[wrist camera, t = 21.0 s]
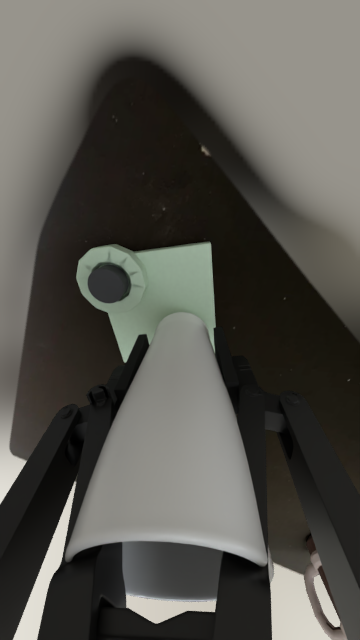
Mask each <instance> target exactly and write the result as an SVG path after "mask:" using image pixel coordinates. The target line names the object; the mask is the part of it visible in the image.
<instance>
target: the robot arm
mask: <svg viewBox="0 0 360 640" xmlns="http://www.w3.org/2000/svg"><path fill="white" fill-rule="evenodd" d="M213 330H214V346H215V355H216V358H217V361H218V364H219V367H220V370H221V373H222V376H223V379H224V382H225V385H226V388H227V390H228V393H229V396H230V399H231V401H232V404H233V407H234V410H235V413H236V414H238V421H237V424H238V427H239V430H240V434H241V438H242V441H243V445H244V449H245V453H246V457H247V461H248V465H249V470H250V474H251V479H252V483H253V488H254V493H255V498H256V503H257V508H258V513H259V518H260V523H261V528H262V534H263V539H264V544H265V549H266V553H267V558H268V529H267V485H266V441H265V429H269V430H273V431H276V432H277V435H278V438H279V441H280V444H281V447H282V450H283V452H284V455H285V458H286V461H287V464H288V467H289V470H290V473H291V476H292V479H293V482H294V485H295V488H296V491H297V494H298V496H299V499H300V502H301V505H302V508H303V511H304V514H305V517H306V520H307V523H308V526H309V529H310V532H311V535H312V537H313V540H314V543H315V546H316V549H317V552H318V555H319V558H320V561H321V564H322V567H323V570H324V573H325V576H326V578H327V581H328V584H329V587H330V590H331V593H332V596H333V599H334V602H335V605H336V608H337V611H338V614H339V617H340V619H341V622H342V625H343V628H344V631H345V634H346V637H347V640H360V495H359V493H358V492H357V490H356V488H355V486H354V485H353V483H352V481H351V479H350V478H349V476H348V474H347V472H346V470H345V469H344V467H343V465H342V463H341V462H340V460H339V458H338V456H337V454H336V453H335V451H334V449H333V447H332V446H331V444H330V442H329V440H328V439H327V437H326V435H325V433H324V431H323V430H322V428H321V426H320V424H319V423H318V421H317V419H316V417H315V415H314V414H313V412H312V410H311V408H310V407H309V405H308V403H307V401H306V400H305V399H304V397H303V396H301V395H300V394H299V393H296V392H293V391H284V392H282V393H281V394H280V396H279V395H273V394H269V393H267V392H264V391H263V390H262V389H261V388H260V387H259V386H258V384H257V382H256V379H255V377H254V375H253V372H252V370H251V367H250V366H249V363H248V360H247V359H246V358H245V357H244V356H232V357H231V354H230V351H229V348H228V345H227V341H226V338H225V335H224V332H223V328H222V327H215V328H213ZM148 347H149V342H148V337H147V334H140V335H138V337H137V339H136V342H135V344H134V346H133V348H132V351H131V353H130V355H129V357H128V359H127V362H126V364H125V365H122V366H118V367H117V368H116V369H115V370H114V371H113V373H112V375H111V377H110V379H109V381H108V383H107V385H103V384H101V385H97V386H95V387H93V388H92V389H90V390H89V391H88V393H87V395H86V396H87V398H88V400H89V402H90V405H88V406H85V407H82V408H78V406H77V405H75V404H71V405H67V406H65V407H63V408H62V409H61V410H60V411H59V412H58V413H57V414H56V416H55V417H54V419H53V421H52V422H51V424H50V425H49V427H48V429H47V430H46V432H45V433H44V435H43V437H42V438H41V440H40V441H39V443H38V445H37V446H36V448H35V449H34V451H33V453H32V454H31V456H30V458H29V459H28V461H27V462H26V464H25V466H24V467H23V469H22V470H21V472H20V474H19V475H18V477H17V479H16V480H15V482H14V483H13V485H12V486H11V488H10V490H9V491H8V493H7V495H6V496H5V498H4V500H3V501H2V503H1V504H0V640H13V638H14V635H15V633H16V630H17V627H18V625H19V622H20V620H21V617H22V615H23V612H24V610H25V607H26V604H27V602H28V599H29V597H30V594H31V592H32V589H33V586H34V584H35V581H36V579H37V576H38V574H39V571H40V569H41V566H42V563H43V561H44V558H45V556H46V553H47V551H48V548H49V545H50V543H51V540H52V538H53V535H54V533H55V530H56V527H57V525H58V522H59V520H60V517H61V514H62V512H63V509H64V507H65V504H66V502H67V499H68V497H69V494H70V491H71V489H72V486H73V484H74V481H75V479H76V476H77V474H78V476H77V482H76V488H75V493H74V498H73V503H72V509H71V515H70V520H69V525H68V531H67V536H66V541H65V547H64V552H63V558H62V562H61V565H60V567H59V568H58V570H57V571H56V572H55V573H54V575H53V577H52V579H51V581H50V584H49V588H48V592H47V596H46V601H45V606H44V610H43V615H42V620H41V625H40V629H39V634H38V639H37V640H272V625H271V592H270V579H269V569H268V562H267V564H266V566H264V567H260V566H259V565H257V564H256V563H254V562H252V561H250V560H248V559H246V558H243V557H241V556H238V555H235V554H232V553H229V552H225V551H223V554H222V559H221V566H220V574H219V583H218V592H217V601H216V610H215V612H199V611H186V612H184V613H182V614H179V615H177V616H175V617H172V618H170V619H168V620H165V621H163V622H161V623H158V624H155V623H153V622H151V621H149V620H147V619H146V618H144V617H142V616H141V615H139V614H137V613H135V612H133V611H132V610H130V609H129V608H126V590H125V583H124V577H123V568H122V542H117V543H109V544H103V545H98V546H94V547H91V548H87V549H85V550H82V551H80V552H79V553H77V554H76V555H75V556H74V557H73V559H72V561H70V562H66V561H65V552H66V549H67V546H68V544H69V541H70V538H71V535H72V532H73V529H74V526H75V523H76V520H77V517H78V514H79V511H80V508H81V505H82V502H83V499H84V496H85V493H86V490H87V488H88V485H89V482H90V479H91V476H92V474H93V471H94V468H95V465H96V463H97V460H98V457H99V455H100V452H101V449H102V447H103V444H104V442H105V439H106V437H107V435H108V432H109V430H110V427H111V425H112V423H113V421H114V418H115V416H116V414H117V412H118V410H119V408H120V405H121V403H122V401H123V399H124V397H125V395H126V393H127V391H128V389H129V387H130V385H131V383H132V381H133V379H134V377H135V374H136V372H137V370H138V368H139V366H140V364H141V362H142V360H143V358H144V356H145V354H146V352H147V349H148Z"/></svg>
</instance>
